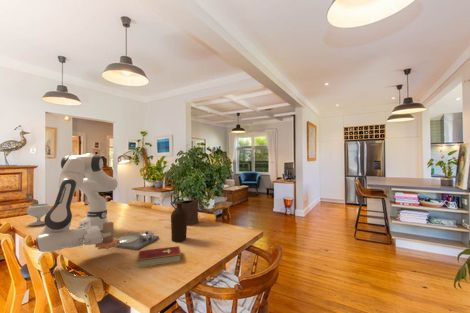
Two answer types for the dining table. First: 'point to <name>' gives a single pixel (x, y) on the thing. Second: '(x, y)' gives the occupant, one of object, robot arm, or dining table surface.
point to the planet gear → (108, 237)
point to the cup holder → (190, 210)
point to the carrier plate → (136, 240)
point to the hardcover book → (158, 256)
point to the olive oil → (178, 223)
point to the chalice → (38, 212)
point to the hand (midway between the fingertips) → (109, 231)
